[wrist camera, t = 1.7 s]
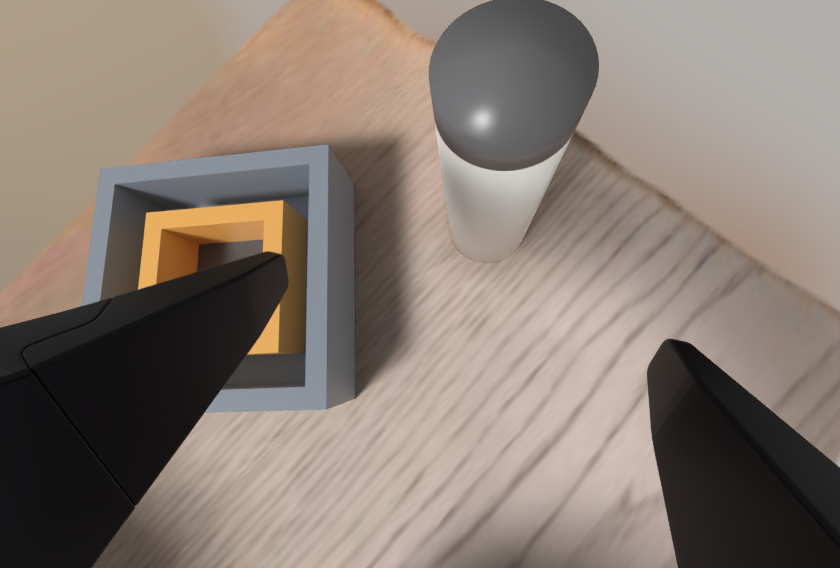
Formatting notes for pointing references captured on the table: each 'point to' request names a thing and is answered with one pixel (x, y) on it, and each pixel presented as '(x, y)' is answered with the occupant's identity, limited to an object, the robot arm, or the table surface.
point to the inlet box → (239, 238)
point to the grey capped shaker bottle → (506, 115)
